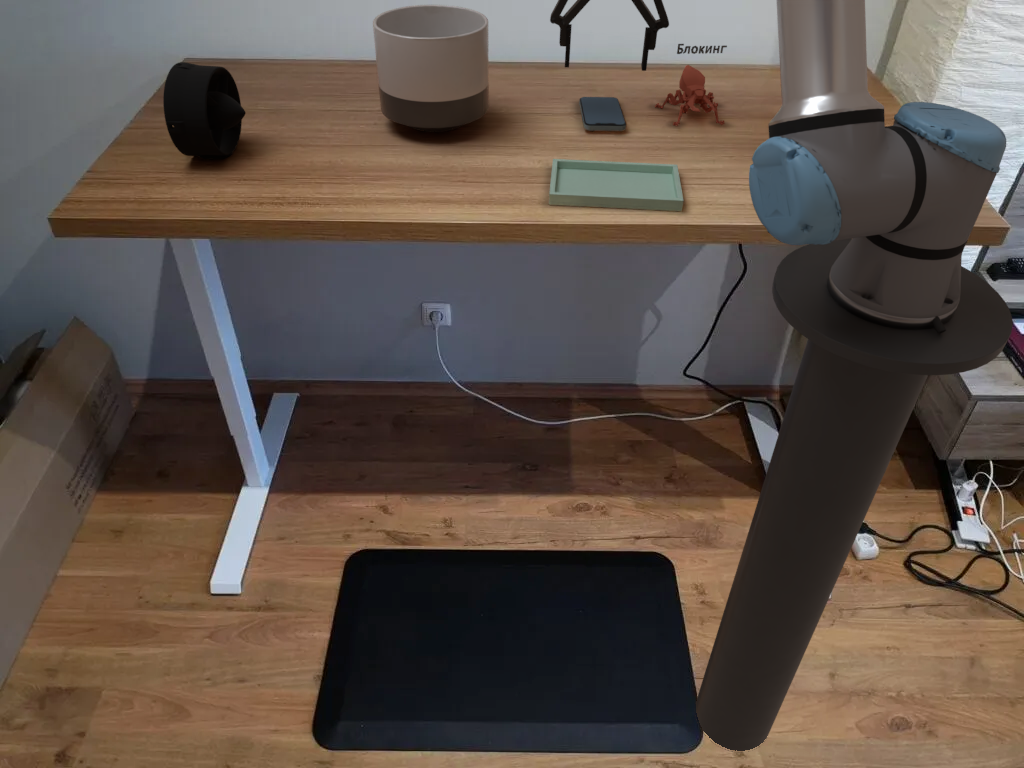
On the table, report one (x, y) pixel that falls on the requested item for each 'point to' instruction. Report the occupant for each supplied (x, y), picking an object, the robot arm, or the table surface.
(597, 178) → the green tray
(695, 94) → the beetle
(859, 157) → the robot arm
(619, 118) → the smartphone
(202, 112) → the black ducted fan
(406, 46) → the planter
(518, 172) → the table surface
